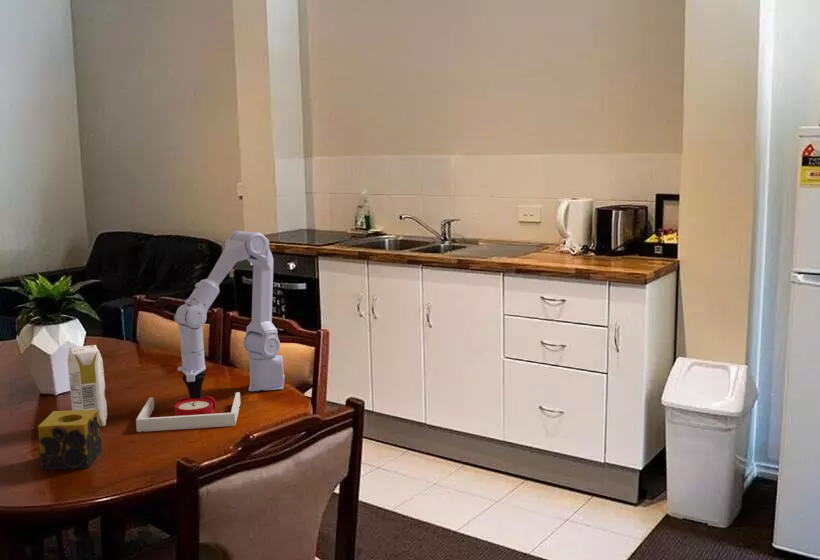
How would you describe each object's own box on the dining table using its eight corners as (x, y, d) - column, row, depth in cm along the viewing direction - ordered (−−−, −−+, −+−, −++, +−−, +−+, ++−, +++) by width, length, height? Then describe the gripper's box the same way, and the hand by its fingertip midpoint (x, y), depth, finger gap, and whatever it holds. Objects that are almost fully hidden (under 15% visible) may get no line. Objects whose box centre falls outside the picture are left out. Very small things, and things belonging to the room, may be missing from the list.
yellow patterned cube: (56, 453, 179) (52, 410, 177) (103, 451, 180) (99, 408, 178) (39, 471, 169) (34, 426, 167) (89, 469, 170) (84, 423, 168)
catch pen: (240, 403, 211) (239, 392, 211) (235, 425, 194) (234, 413, 194) (150, 408, 208) (149, 397, 208) (136, 431, 191) (135, 419, 191)
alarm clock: (169, 415, 192) (175, 384, 206) (171, 437, 194) (177, 405, 208) (213, 412, 194) (216, 381, 207) (215, 434, 196) (218, 402, 210)
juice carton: (75, 432, 192) (68, 355, 189) (72, 421, 199) (65, 347, 196) (109, 426, 195) (102, 350, 192) (104, 416, 203) (98, 343, 200)
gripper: (180, 344, 215) (184, 393, 217) (172, 358, 201) (176, 410, 203) (207, 342, 216) (210, 391, 218) (201, 356, 201) (204, 408, 204)
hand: (196, 400), depth 210 cm, fingers closed
